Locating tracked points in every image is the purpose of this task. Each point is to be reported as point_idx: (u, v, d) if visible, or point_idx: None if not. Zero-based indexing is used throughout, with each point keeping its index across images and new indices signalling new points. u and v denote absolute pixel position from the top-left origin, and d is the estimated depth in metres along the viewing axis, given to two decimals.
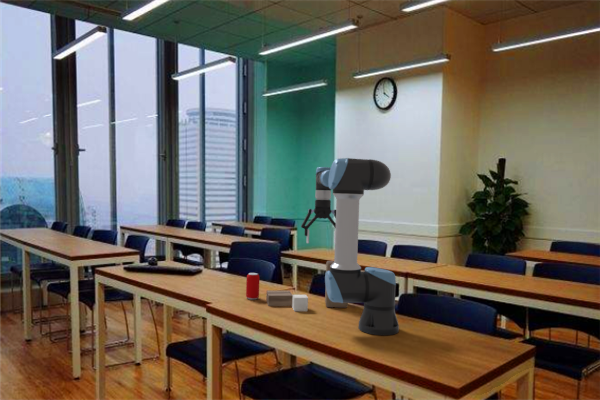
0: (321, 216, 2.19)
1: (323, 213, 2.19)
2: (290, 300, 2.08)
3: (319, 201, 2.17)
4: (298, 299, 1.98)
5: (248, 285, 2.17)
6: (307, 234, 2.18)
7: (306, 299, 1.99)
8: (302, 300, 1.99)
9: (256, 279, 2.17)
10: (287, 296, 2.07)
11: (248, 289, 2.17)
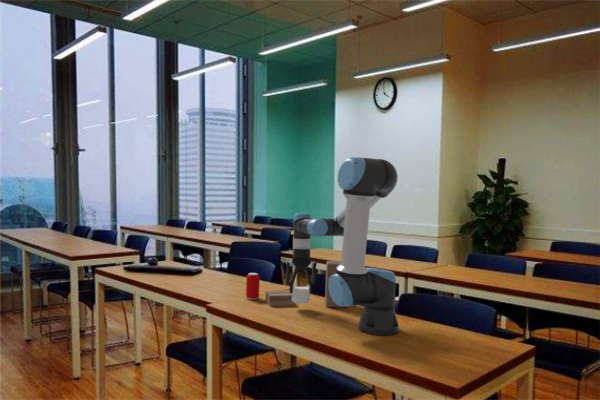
0: (300, 267, 2.00)
1: (302, 263, 2.00)
2: (291, 300, 2.08)
3: (297, 251, 1.98)
4: (299, 291, 1.98)
5: (248, 285, 2.17)
6: (292, 291, 2.00)
7: (307, 291, 1.99)
8: (303, 292, 1.98)
9: (256, 279, 2.17)
10: (288, 296, 2.08)
11: (248, 289, 2.17)
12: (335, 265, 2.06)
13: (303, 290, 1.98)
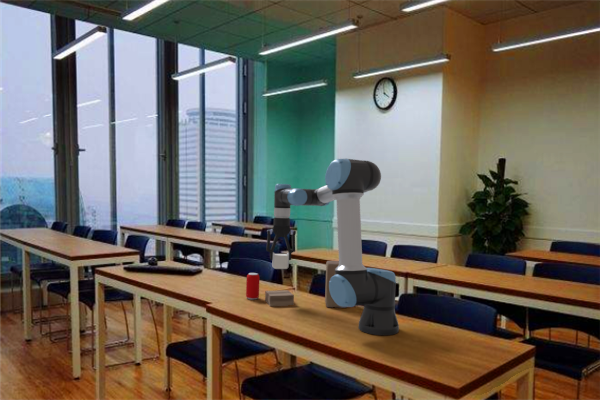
0: (280, 235, 2.11)
1: (282, 231, 2.11)
2: (291, 300, 2.08)
3: (277, 220, 2.09)
4: (278, 257, 2.09)
5: (248, 285, 2.17)
6: (272, 258, 2.11)
7: (286, 257, 2.10)
8: (282, 258, 2.09)
9: (256, 279, 2.17)
10: (288, 296, 2.08)
11: (248, 289, 2.17)
12: (335, 265, 2.06)
13: (282, 256, 2.09)
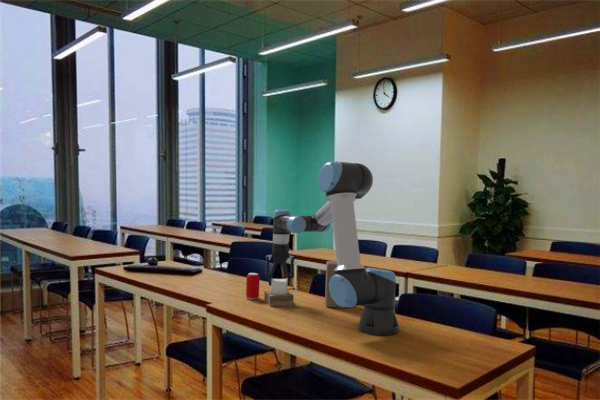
0: (278, 261, 2.11)
1: (280, 257, 2.11)
2: (291, 300, 2.09)
3: (276, 246, 2.09)
4: (277, 283, 2.10)
5: (248, 285, 2.17)
6: (271, 284, 2.11)
7: (285, 283, 2.10)
8: (281, 284, 2.10)
9: (256, 279, 2.17)
10: (288, 296, 2.08)
11: (248, 289, 2.17)
12: (335, 265, 2.06)
13: (281, 282, 2.10)
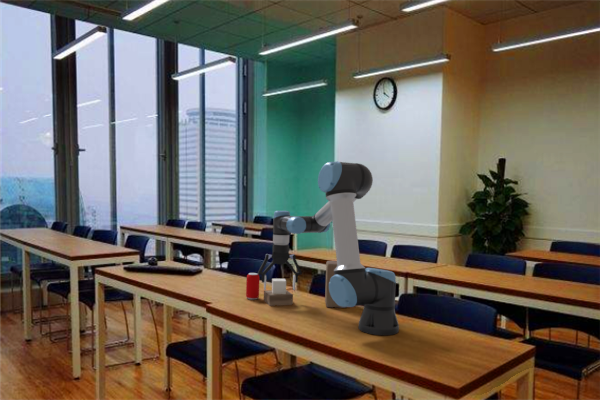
0: (279, 262, 2.11)
1: (281, 258, 2.11)
2: (290, 299, 2.10)
3: (276, 247, 2.09)
4: (277, 282, 2.10)
5: (248, 285, 2.17)
6: (264, 280, 2.10)
7: (285, 282, 2.10)
8: (281, 283, 2.10)
9: (256, 279, 2.17)
10: (287, 295, 2.09)
11: (248, 289, 2.17)
12: (335, 265, 2.06)
13: (281, 282, 2.10)
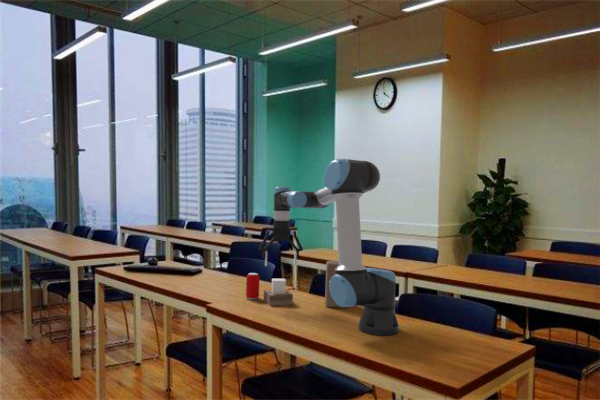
0: (280, 238, 2.11)
1: (282, 234, 2.11)
2: (290, 299, 2.10)
3: (277, 222, 2.09)
4: (276, 282, 2.10)
5: (248, 285, 2.17)
6: (265, 257, 2.10)
7: (284, 282, 2.11)
8: (280, 283, 2.10)
9: (256, 279, 2.17)
10: (287, 295, 2.09)
11: (248, 289, 2.17)
12: (335, 265, 2.06)
13: (281, 281, 2.10)
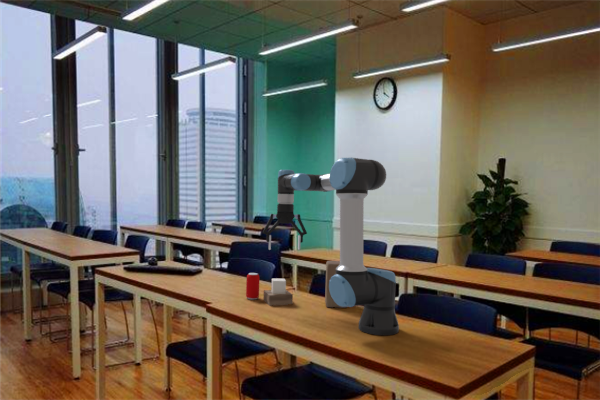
0: (283, 221, 2.09)
1: (286, 218, 2.09)
2: (290, 299, 2.10)
3: (280, 206, 2.07)
4: (276, 282, 2.10)
5: (248, 285, 2.17)
6: (269, 240, 2.08)
7: (284, 282, 2.11)
8: (280, 283, 2.11)
9: (256, 279, 2.17)
10: (287, 295, 2.10)
11: (248, 289, 2.17)
12: (335, 265, 2.06)
13: (281, 282, 2.11)
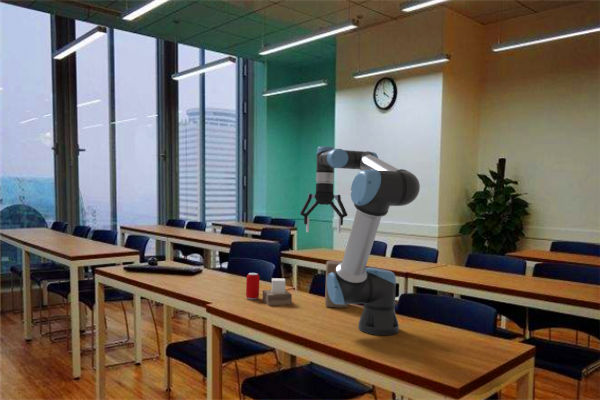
0: (323, 202, 1.94)
1: (325, 198, 1.94)
2: (289, 299, 2.10)
3: (320, 185, 1.92)
4: (276, 282, 2.10)
5: (248, 285, 2.17)
6: (307, 222, 1.93)
7: (284, 282, 2.11)
8: (280, 283, 2.11)
9: (256, 279, 2.17)
10: (286, 295, 2.10)
11: (248, 289, 2.17)
12: (335, 265, 2.06)
13: (280, 281, 2.11)
